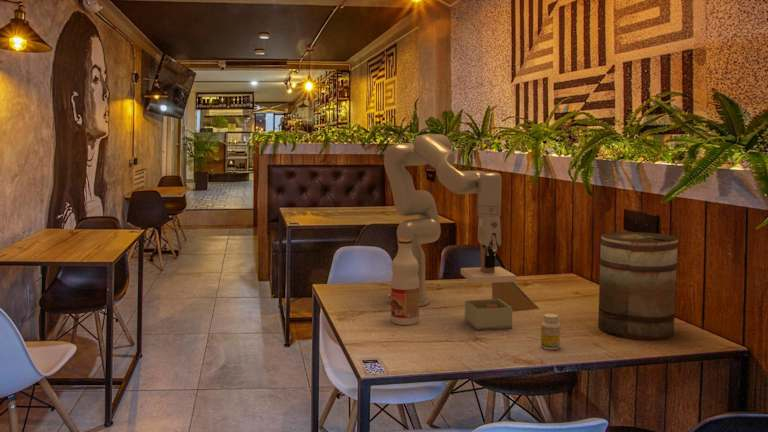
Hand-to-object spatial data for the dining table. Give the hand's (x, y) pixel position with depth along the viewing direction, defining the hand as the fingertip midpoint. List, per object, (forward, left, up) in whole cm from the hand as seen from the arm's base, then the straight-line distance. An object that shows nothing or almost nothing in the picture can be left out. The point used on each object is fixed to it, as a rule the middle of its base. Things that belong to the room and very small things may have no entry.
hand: (487, 265), depth 209 cm
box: (0, 0, -20) cm, 20 cm away
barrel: (+44, -15, -20) cm, 51 cm away
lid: (0, 0, -4) cm, 4 cm away
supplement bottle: (+10, -26, -20) cm, 35 cm away
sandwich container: (+18, +19, -20) cm, 33 cm away
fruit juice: (-26, +9, -20) cm, 34 cm away
